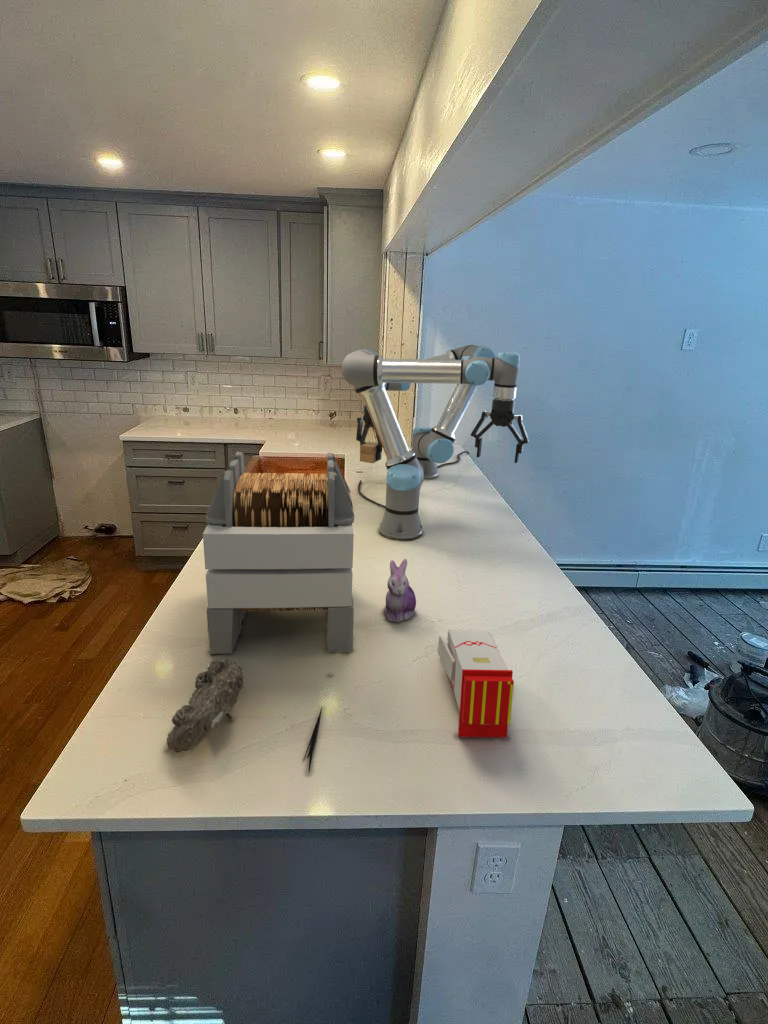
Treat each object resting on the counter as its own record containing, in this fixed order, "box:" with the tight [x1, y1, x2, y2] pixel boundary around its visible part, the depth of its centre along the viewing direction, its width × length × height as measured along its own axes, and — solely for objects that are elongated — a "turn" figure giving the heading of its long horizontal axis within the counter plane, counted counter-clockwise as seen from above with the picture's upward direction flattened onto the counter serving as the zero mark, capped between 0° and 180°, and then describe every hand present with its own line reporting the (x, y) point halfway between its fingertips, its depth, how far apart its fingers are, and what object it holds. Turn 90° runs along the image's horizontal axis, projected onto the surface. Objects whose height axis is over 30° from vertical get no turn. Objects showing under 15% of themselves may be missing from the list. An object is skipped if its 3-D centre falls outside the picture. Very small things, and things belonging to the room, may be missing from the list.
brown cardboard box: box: [359, 441, 383, 464], centre depth 245 cm, size 9×6×7 cm
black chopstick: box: [301, 673, 332, 771], centre depth 108 cm, size 2×28×2 cm
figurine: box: [384, 558, 417, 623], centre depth 145 cm, size 9×10×15 cm
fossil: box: [166, 658, 245, 754], centre depth 106 cm, size 22×10×15 cm
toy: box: [437, 628, 515, 738], centre depth 117 cm, size 12×13×30 cm
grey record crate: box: [202, 451, 355, 655], centre depth 137 cm, size 34×33×41 cm
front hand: (497, 459), depth 201 cm, fingers open, 13 cm apart
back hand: (370, 458), depth 246 cm, fingers closed on brown cardboard box, 6 cm apart
